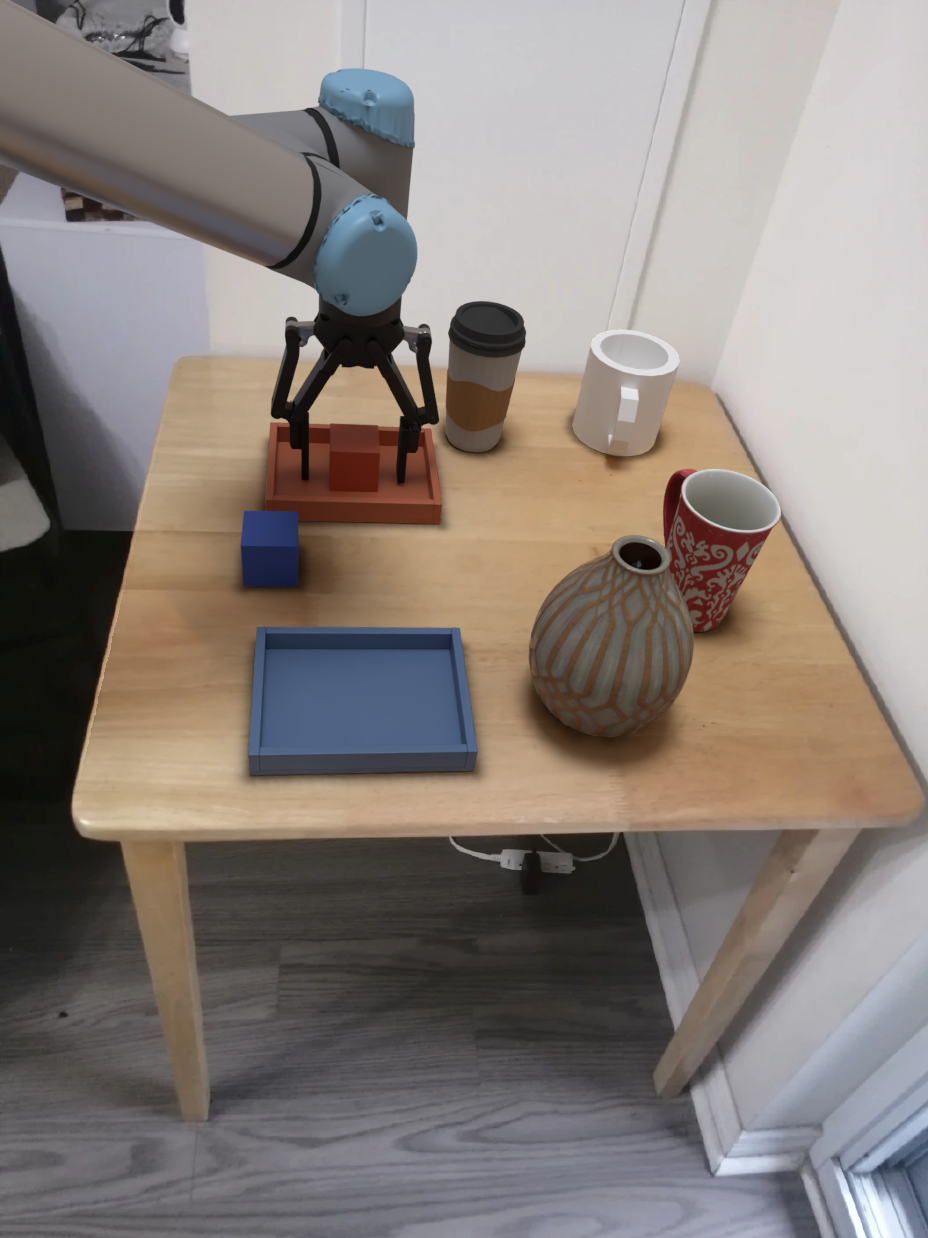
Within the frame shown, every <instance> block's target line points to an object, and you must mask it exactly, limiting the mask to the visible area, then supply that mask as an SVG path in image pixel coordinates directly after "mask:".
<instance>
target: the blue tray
mask: <svg viewBox="0 0 928 1238" xmlns="http://www.w3.org/2000/svg"><path fill="white" fill-rule="evenodd" d="M255 628H256V629H255V642H254V643H255V646H254V662H253V674H252V675H253V676H252V689H251V691H252V692H251V707H250V720H249V721H250V722H249V735H248V736H249V737H248V753H247V759H248V770H249V771H248V773H249V775H250V776H274V775H275V776H279V775H280V776H281V775H283V776H284V775H324V774H325V775H333V774H336V775H337V774H377V773H378V774H379V773H380V774H381V773H382V774H383V773H431V772H433V773H435V772H473V771H475V766H476V763H477V756H478V752H479V750H478V743H477V737H476V736H477V735H476V729H475V723H474V715H473V709H472V702H471V701H472V700H471V694H470V689H469V681H468V675H467V668H466V661H465V654H464V647H463V640H462V634H461V628H460V627H409V626H408V627H401V626H399V627H398V626H397V627H395V626H394V627H389V626H388V627H387V626H382V627H381V626H379V627H378V626H376V627H375V626H256V627H255Z"/></svg>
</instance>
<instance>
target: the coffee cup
mask: <svg viewBox="0 0 928 1238" xmlns="http://www.w3.org/2000/svg"><path fill="white" fill-rule="evenodd" d="M447 334H448V339H449V341H448V342H449V343H448V361H447V362H448V363H447V367H448V368H447V370H446V387H445V426H444V431H445V435H446V437H447V439H448V442H449V443H450V444H451V445H452V446H453V447H455V448H457V449H458V450H461V451H463V452H468V453H484V452H487V451H491V450H492V449H493V448H495V446H496V445H497V444H498V442H499V441H500V438H501V435H502V431H503V427H504V423H505V419H506V417H507V414H508V411H509V406H510V402H511V398H512V393H513V391H514V386H515V383H516V375H517V371H518V367H519V363H520V358H521V354H522V351H523V350H524V349H525V347H526V343H527V341H526V340H527V339H526V337H527V330H526V327H525V319H524V317H523V316H522V314H520V312H518V311H517V310H516V309H514V308H512V307H511V306H508V305H506V304H503V303H499V302H494V301H488V300H486V301H485V300H477V301H470V302H466V303H464V304H462V305H460V306H458V308H457V309H456V310H455V313H454V315H453V317H452V318H451V320H450V323H449V329H448V332H447Z"/></svg>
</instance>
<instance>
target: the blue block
mask: <svg viewBox="0 0 928 1238" xmlns="http://www.w3.org/2000/svg"><path fill="white" fill-rule="evenodd" d="M299 537H300V535H299V521H298V512H288V511H266V510H247V509H246V510H243V514H242V527H241V536H240V556H241V557H240V558H241V574H242V586H243V587H278V588H279V587H282V588H283V587H286V588H287V587H289V588H291V587H292V588H297V587H299V558H300V556H299V551H300V548H299V547H300V545H299V544H300V543H299V542H300V541H299Z"/></svg>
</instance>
